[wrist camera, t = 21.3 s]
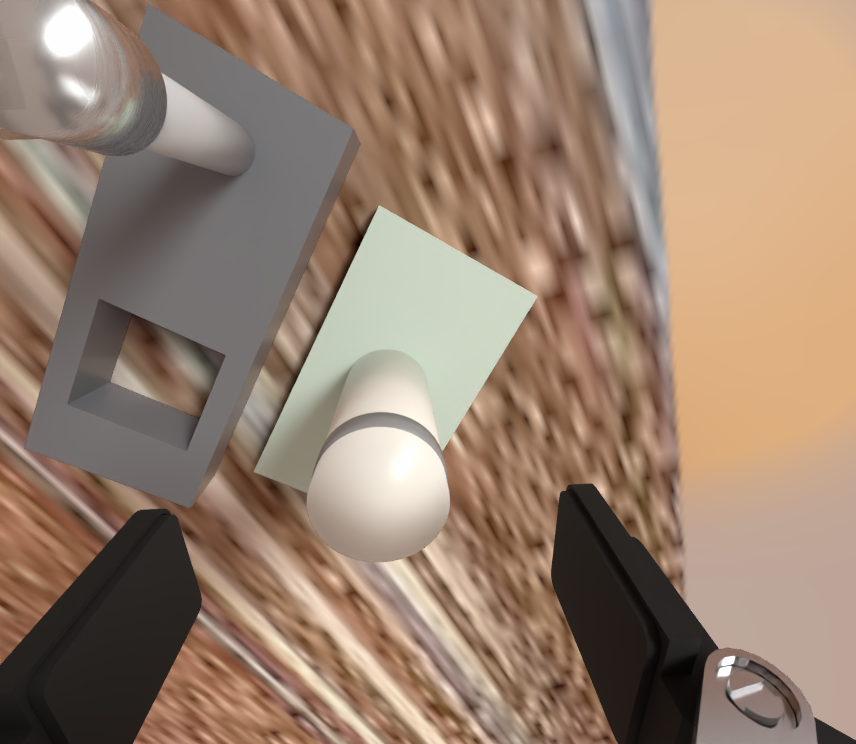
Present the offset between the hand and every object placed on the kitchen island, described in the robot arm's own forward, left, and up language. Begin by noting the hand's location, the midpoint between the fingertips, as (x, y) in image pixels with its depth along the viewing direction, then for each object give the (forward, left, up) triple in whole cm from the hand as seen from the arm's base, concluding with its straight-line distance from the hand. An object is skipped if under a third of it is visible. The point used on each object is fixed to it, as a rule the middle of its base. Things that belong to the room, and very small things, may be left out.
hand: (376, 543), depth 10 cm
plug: (+1, 0, -12) cm, 12 cm away
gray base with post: (+1, -10, -14) cm, 17 cm away
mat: (+1, 0, -14) cm, 13 cm away
